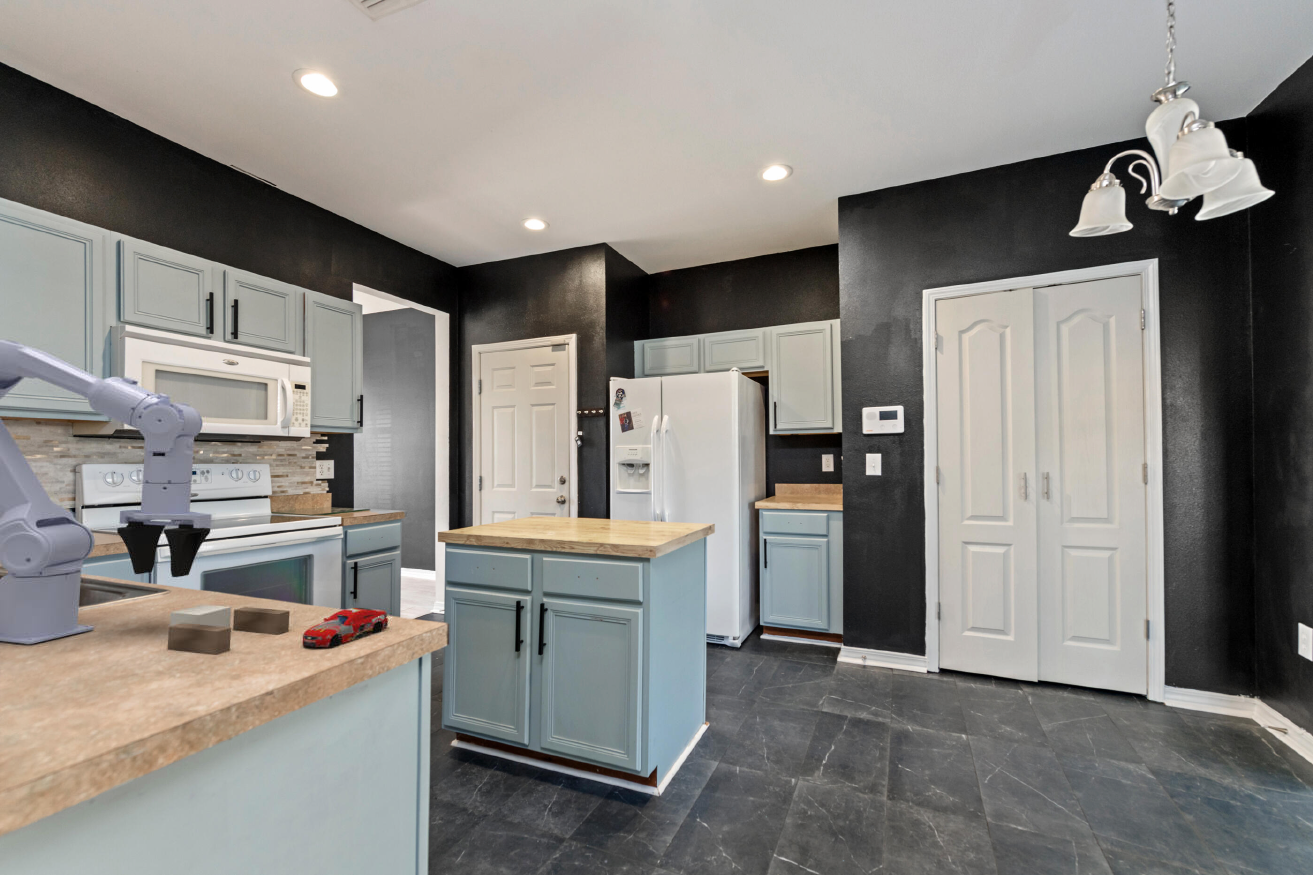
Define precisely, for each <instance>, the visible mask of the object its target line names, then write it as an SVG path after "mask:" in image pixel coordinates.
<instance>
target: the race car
mask: <svg viewBox="0 0 1313 875" xmlns="http://www.w3.org/2000/svg"><path fill="white" fill-rule="evenodd" d="M378 616H379V617H378ZM386 617H387V618H386ZM388 623H389V618H388V616H387V612H386V611H385V610H381V609H372V608H368V607H367V608H366V607H351V608H345V609H342V610H339V611H337V612H334V614H332V615H330V616H328V618H327V617H325V618H323V622H320V623H318V624H316V625H313V626H311V627H310V628H308V629H307V630H305V631H304V633H303V634H302V645H303V646H306V647H312V648H315V647H316V648H321V647H322V648H323V647H324V648H325V647H326V648H330V649H332V648H335V647H339V646H340V645H341V644H344V643H347V642H350V641H353V640H357V639H359V638H362V637H366V636H369V635H371V634H373V635H375V634H377V633H381V632H382V630H385V629H386V628H387V627H388Z"/></svg>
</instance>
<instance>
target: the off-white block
mask: <svg viewBox="0 0 1313 875" xmlns="http://www.w3.org/2000/svg"><path fill="white" fill-rule="evenodd" d="M231 614H232V607H231V606H223V605H221V606H220V605H213V604H212V605H211V604H200V605H196V606H191V607H188V608H183V609H179V610H175V611H174V610H173V611H170V617H169V618H170V619H169V620H170V621H169V626H173V625H177V624H181V623H189V624H199V625H209V626H219V627H229V628H231Z"/></svg>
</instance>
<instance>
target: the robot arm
mask: <svg viewBox="0 0 1313 875" xmlns="http://www.w3.org/2000/svg"><path fill="white" fill-rule="evenodd" d="M25 378H26V379H27V378H28V379H39V380H41V381H44V382H46V383H49V384H51V385H54V386H57V387H59V388H62V389H65V390H67V391H70V392H72V393H75V394H77V395H79V396H82V397H85V398H87V400H88V404H89V406H90V408H91V410H92V411H94V412H96V413H99V414H101V415H104V416H105V417H109V418H111V419H113V420H115V421H118V422H120V423H122V424H124V425H127V426H129V427H131V428H134V429H136V430H138V431H139V433H140V434H141V435H142V436H143V439H144V454H143V455H144V458H143V460H144V461H143V470H142V472H143V473H142V474H143V475H142V486H141V489H142V490H141V500H140V502H141V504H140V509H139V510H138V509H129V510H128V509H127V510H120V511H119V522H118V523H119V524H121V525H122V524H123V525H125V526H124V527H123V526H122V527H117V531H116V532H117V533H116V534H118V536H119V537H120V538H121V539H122V541H123V543H124V545H125V547H126V549H127V551H128V555H129V558H130V561H131V565H132V568H133V569H132V570H133V572H134V574H135V575H141V574H149V573H152V572H153V569H154V566H155V562H156V555H157V554H156V553H157V548H158V544H159V542H160V538H161V537H162V536H161V535H162V533H164V536H165V538H166V541H167V543H168V544H167V545H168V548H169V554H170V555H169V556H170V575H171V577H172V578H180V577H184V576H185V577H186V576H189V575H190V572H191V570H192V566H193V564H194V562H195V559H196V557H197V554H198V551H199V550H200V548H201V546H202V544H203V543H204V541H205V540H206V538H208V536H209V535H210V533H211V526H212V513H202V512H196V511H190V510H191V494H192V482H193V481H192V480H193V463H194V462H193V461H194V444H195V437H197V436H198V435H199V434H200V432H201V431H202V428H203V419H202V416H201V414H200V412H198V411H197V410H196V409H195V408H194V407H192V406H191V405H190V404H188V403H181V402H180V403H178V402H177V403H176V402H175V403H174V402H171V401H170V399H171V397H170V395H168V394H165V393H161V392H160V393H158V394H157V393H155V392H152V391H150V390H148V389H146V388H144V387H141V386H139V385H138V383H139V381H138V380H137V379H135V378H132V377H128V376H124V377H122V378H121V377H119V376H111V377H107V378H103V379H102V378H100V377H98V376H96V375H94V374H91V373H89V372H88V371H85V370H83V369H81V368H79V367H77V366H75V365H73V364H72V363H70V362H66V361H64V360H62V359H61V358H59V357H56V356H54V355H52V354H50V353H48V352H47V351H44V350H41V349H39V348H34V347H31V346H27V345H23V344H22V343H20V342H17V341H14V340H8V339H6V340H5V339H0V400H2V399H3V398H4V397H5V396H6V395H7V394H8V393H9V392H11V390H13V389H14V388H15V387H16V386H17V385H18V384H20V383H21V382H22V381H24V379H25ZM164 520H165V521H164ZM166 520H167V521H166ZM167 526H168V527H174V528H166V527H167ZM175 527H176V528H175ZM95 542H96V539H95V536H94V534H93V532H92V531H91V529H90V528H89V527H87V526H86V525H85V524H82V523H80V522H79V521H78V520H77V519H76V517H75V516H74V515H73V513H72V512H71V511H70V510H68V509H66V508H65V507H62V506H61V505H59V504H57V503H55V502H53V501H52V499H51V498H50V496H49V495H48V493H47V491H46V490H45V488H44V486H43V484H42V483H41V481H40V480H39V479H38V477H37V475H36V473H35V471H34V470H33V469H32V467H31V465H30V464H29V462H28V460H27V458H26V457H25V456H24V454H23V452H22V451H21V449H20V448H19V445H18V444H17V442H16V441H15V439H14V438H13V435H12V434H11V432H10V431H9V430H8V428H7V426H6V425H5V423H4V422H3V420H2V418H1V417H0V565H1V567H2V568H3V569H4V570H6V571H7V574H5V575H4V576H2V577H1V578H0V642H7V643H17V644H25V645H31V644H37V643H41V642H42V643H43V642H45V641H50V640H54V639H58V638H62V637H66V636H67V637H68V636H70V635H75V634H79V633H84V632H89V631H92V630H94V625H87V624H85V625H84V624H79V610H80V609H79V608H80V596H81V595H80V592H81V581H82V580H81V577H82V568H83V564H84V560H86V559H87V558H89V556H90V555H91V554H92V553H93V551H94V549H95V544H96V543H95Z"/></svg>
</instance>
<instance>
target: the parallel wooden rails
mask: <svg viewBox="0 0 1313 875" xmlns="http://www.w3.org/2000/svg"><path fill="white" fill-rule="evenodd" d="M232 622H233V625H232V627H230V628H229V627H219V626H209V625H199V624H189V623H181V624H177V625H173V626H170V625H169V626H168V631H167V632H168V634H167V648H166V649H167V650H174V651H180V652H181V651H184V652H190V653H198V654H208V655H218V654H219V655H220V654H222V653H225V652H228V651H230V650H231V639H232V638H231V637H232V635H231V633H232V630H233V631H238V632H239V631H240V632H241V631H242V632H250V633H261V634H268V635H269V634H270V635H280V634H283V633H286V632H289V628H290V627H289V626H290V610H287V609H286V610H285V609H284V610H283V609H273V608H263V607H262V608H261V607H251V606H250V607H249V606H244V607H240V608H236V609H233V621H232Z"/></svg>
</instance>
